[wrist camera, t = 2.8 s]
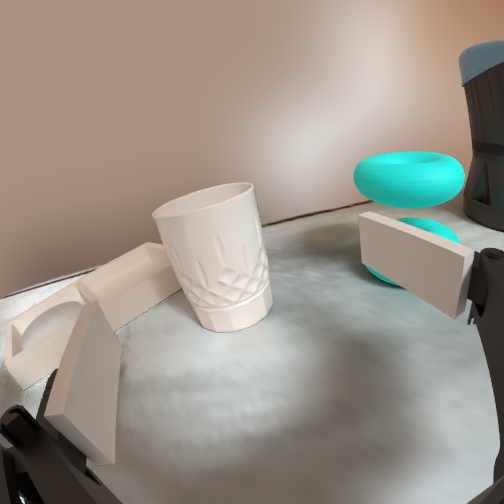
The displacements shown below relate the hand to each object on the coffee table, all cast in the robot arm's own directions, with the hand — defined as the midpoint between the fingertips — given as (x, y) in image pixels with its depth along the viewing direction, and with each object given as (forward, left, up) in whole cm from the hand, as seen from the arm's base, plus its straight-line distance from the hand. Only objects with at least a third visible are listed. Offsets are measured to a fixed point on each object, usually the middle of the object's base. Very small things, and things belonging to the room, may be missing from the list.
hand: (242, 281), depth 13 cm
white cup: (-5, -8, -8) cm, 13 cm away
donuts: (-17, +4, -8) cm, 19 cm away
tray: (+4, -23, -8) cm, 24 cm away
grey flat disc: (+10, -23, -6) cm, 26 cm away
